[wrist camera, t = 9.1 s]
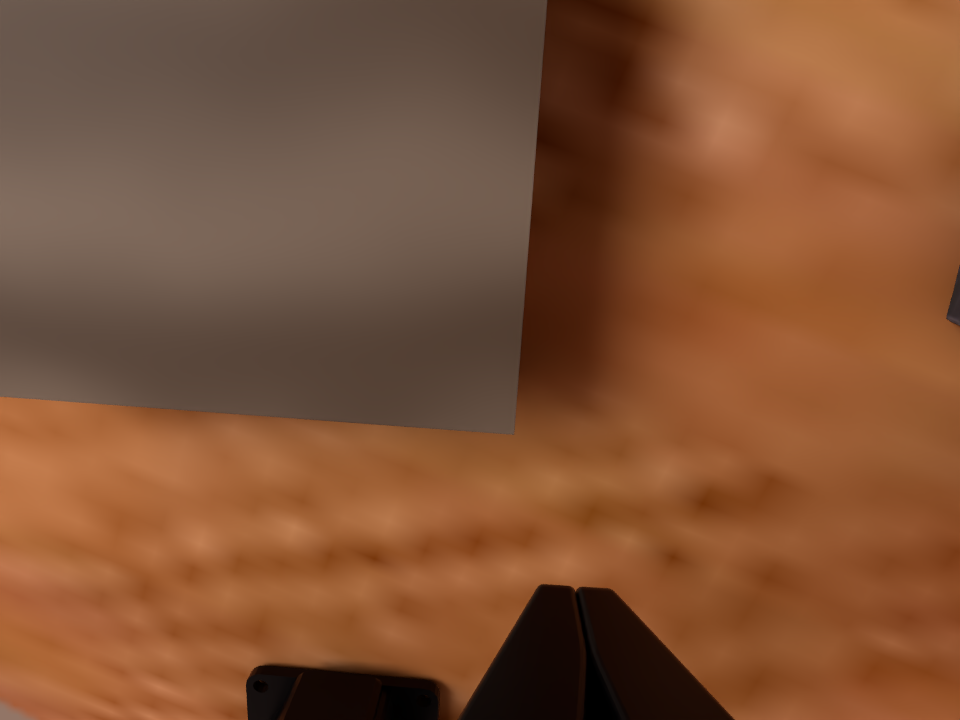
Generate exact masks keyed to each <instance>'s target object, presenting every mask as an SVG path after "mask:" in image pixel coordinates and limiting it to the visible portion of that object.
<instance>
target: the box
mask: <svg viewBox="0 0 960 720" xmlns="http://www.w3.org/2000/svg"><path fill="white" fill-rule="evenodd" d="M947 319H948V320H949V321H951V322H953V323H955V324H957V325H959V326H960V267H959V270H958V274H957V278H956V283H955V287H954V291H953V295H952V298H951V302H950V305H949V309H948V313H947Z"/></svg>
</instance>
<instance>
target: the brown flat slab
mask: <svg viewBox="0 0 960 720" xmlns="http://www.w3.org/2000/svg"><path fill="white" fill-rule="evenodd" d="M546 11H547V0H0V397H14V398H27V399H41V400H54V401H68V402H81V403H95V404H108V405H122V406H135V407H149V408H162V409H175V410H189V411H202V412H216V413H229V414H243V415H256V416H270V417H283V418H297V419H310V420H324V421H337V422H351V423H364V424H377V425H391V426H404V427H418V428H431V429H445V430H458V431H472V432H485V433H499V434H512V435H514V430H515V417H516V404H517V390H518V377H519V364H520V351H521V338H522V325H523V312H524V299H525V286H526V273H527V260H528V246H529V233H530V220H531V207H532V194H533V181H534V168H535V155H536V142H537V129H538V116H539V102H540V89H541V76H542V63H543V50H544V37H545V24H546Z"/></svg>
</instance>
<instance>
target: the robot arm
mask: <svg viewBox="0 0 960 720" xmlns="http://www.w3.org/2000/svg"><path fill="white" fill-rule="evenodd" d="M259 680H262V681H265V682H266V683H267V684H264V683H261V682H260V681H259ZM246 693H247V710H248V720H439V703H440V691H439V688H438V686H437V685H436V684H435V683H433V682H432V681H428V680H421V679H410V678H399V677H388V676H376V675H365V674H354V673H343V672H331V671H320V670H309V669H297V668H286V667H275V666H258V667H256V668H254V669H253V671H252V672H251V674H250V676H249V678H248V679H247V683H246ZM420 695H426V696H428V697H429V698H423V697H421V696H420ZM458 720H734V718H733V717H732V716H731V715H730V714H729V713H728V712H727V711H726V710H725V709H724V708H723V707H722V706H721V705H720V704H719V702H718V701H717V700H716V699H715V698H714V697H713V696H712V695H711V694H710V693H709V692H708V691H707V690H706V689H705V688H704V686H703V685H702V684H701V683H700V682H699V681H698V680H697V679H696V678H695V677H694V676H693V675H692V674H691V673H690V672H689V670H688V669H687V668H686V667H685V666H684V665H683V664H682V663H681V662H680V661H679V660H678V659H677V658H676V657H675V656H674V654H673V653H672V652H671V651H670V650H669V649H668V648H667V647H666V646H665V645H664V644H663V643H662V642H661V641H660V640H659V638H658V637H657V636H656V635H655V634H654V633H653V632H652V631H651V630H650V629H649V628H648V627H647V626H646V625H645V624H644V622H643V621H642V620H641V619H640V618H639V617H638V616H637V615H636V614H635V613H634V612H633V611H632V610H631V609H630V607H629V606H628V605H627V604H626V603H625V602H624V601H623V600H622V599H621V598H620V597H619V596H618V595H617V594H616V593H615V592H614V591H613V590H611V589H608V588H593V587H579V588H578V589H577V590H576V592H575V590H574V588H572V587H571V586H563V585H548V584H541V585H540V586H538V588H537V589H536V590H535V592H534V594H533V595H532V597H531V599H530V600H529V602H528V604H527V605H526V607H525V609H524V610H523V612H522V614H521V615H520V617H519V619H518V620H517V622H516V624H515V625H514V627H513V629H512V630H511V632H510V633H509V635H508V637H507V638H506V640H505V642H504V643H503V645H502V647H501V648H500V650H499V652H498V653H497V655H496V657H495V658H494V660H493V662H492V663H491V665H490V667H489V668H488V670H487V672H486V673H485V675H484V677H483V678H482V680H481V682H480V683H479V685H478V687H477V688H476V690H475V692H474V693H473V695H472V697H471V698H470V700H469V701H468V703H467V705H466V706H465V708H464V710H463V711H462V713H461V715H460V716H459V718H458Z"/></svg>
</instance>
